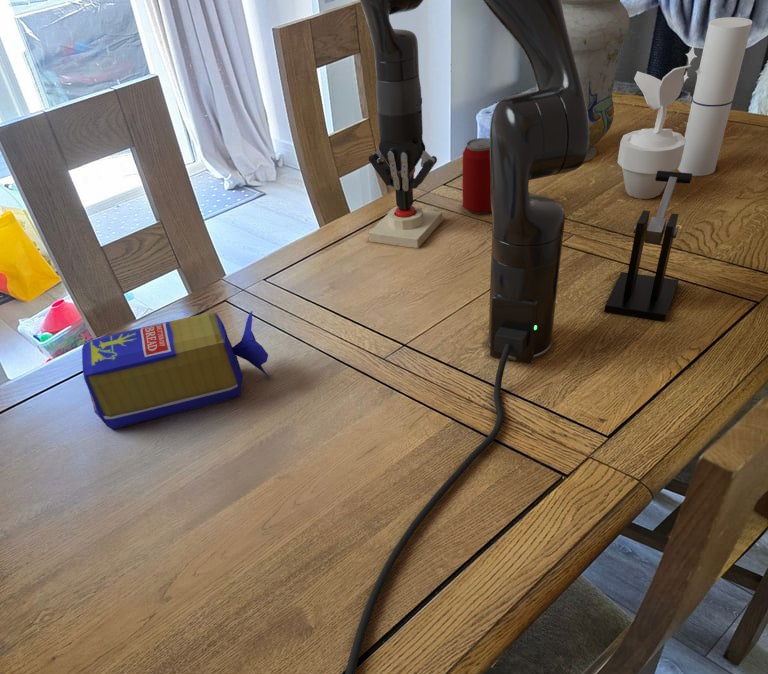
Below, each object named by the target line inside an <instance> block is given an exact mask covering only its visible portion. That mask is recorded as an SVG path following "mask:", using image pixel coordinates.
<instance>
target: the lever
mask: <svg viewBox="0 0 768 674" xmlns="http://www.w3.org/2000/svg"><path fill="white" fill-rule="evenodd" d="M692 178H693V176H692V173H681V172H680V171H673V172H670V171H657V174H656V179H655V181H662V182H667V183H666V185H665V189H664V190H663V191H664V192H663V194H662V197H661V200H660V203H659V206H658V208H657V212H656V215H655V216H650V217H649V220H648V225H647V230H646V235H645V240H644V244H651V245H657V246H658V245H661V244H662V241H663V238H664V233H665V229H666V225H667V217H666V214H667V212H668V208H669V206H670V202H671V200H672V197H673V194H674V190H675V187H676V185H677V184H685V185H690V184H691V182H692Z"/></svg>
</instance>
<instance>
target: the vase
mask: <svg viewBox="0 0 768 674" xmlns="http://www.w3.org/2000/svg"><path fill="white" fill-rule="evenodd" d="M561 2H562V7H563V13H564V18H565V22H566V26H567V31H568V35H569V39H570V43H571V47H572V50H573V54H574V58H575V62H576V66H577V69H578V73H579V77H580V81H581V85H582V89H583V93H584V97H585V101H586V106H587V111H588V117H589V129H590V139H589V149H588V153H587V156H586V158H585V160H584V162H583V163H586V162H588V161H590V160H592V159H594V158H595V157H596V155H597V149H596V147H595V145H596V144H598V143H599V142H600V141H601V140H602V139H603V138H604V137H605V135H607V133H608V132H609V130H610V128H611V126H612V124H613V122H614V115H615V107H614V101H613V92H614V84H615V80H616V79H615V78H616V75H617V74H616V73H617V68H618V65H619V64H618V63H619V57H620V53H621V52H620V51H621V48H622V46H623V45H622V44H623V43H625V40H626V38H627V37H628V36H627V35H628V33H629V29H630V15H629V11H628V10H627V8H626V7H625V5H624V4H623V3H622V1H621V0H561ZM535 91H539V90H538V87H537V83H536V82H535Z"/></svg>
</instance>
